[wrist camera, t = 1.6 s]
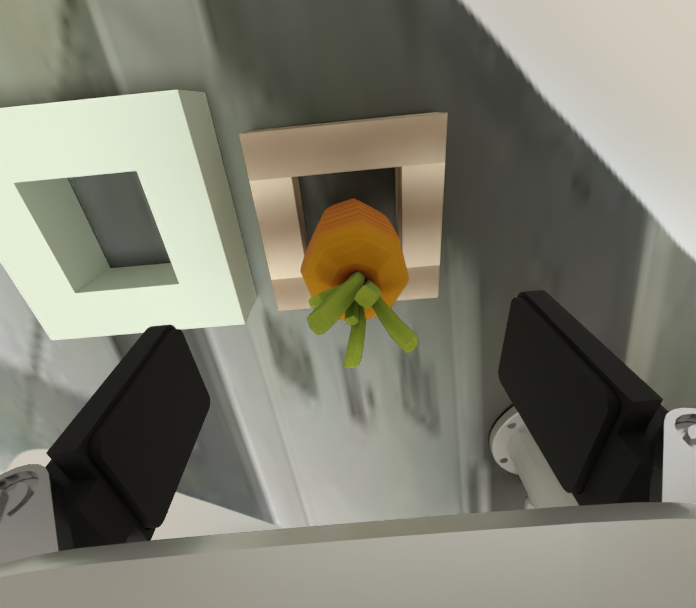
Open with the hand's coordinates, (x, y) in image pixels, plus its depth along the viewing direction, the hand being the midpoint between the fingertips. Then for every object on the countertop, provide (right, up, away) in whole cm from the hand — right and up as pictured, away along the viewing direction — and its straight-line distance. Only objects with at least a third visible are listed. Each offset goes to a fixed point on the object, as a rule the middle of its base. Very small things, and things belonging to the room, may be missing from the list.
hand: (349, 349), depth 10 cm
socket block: (0, +8, +14) cm, 16 cm away
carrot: (0, +8, +14) cm, 16 cm away
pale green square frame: (-15, +7, +14) cm, 22 cm away
